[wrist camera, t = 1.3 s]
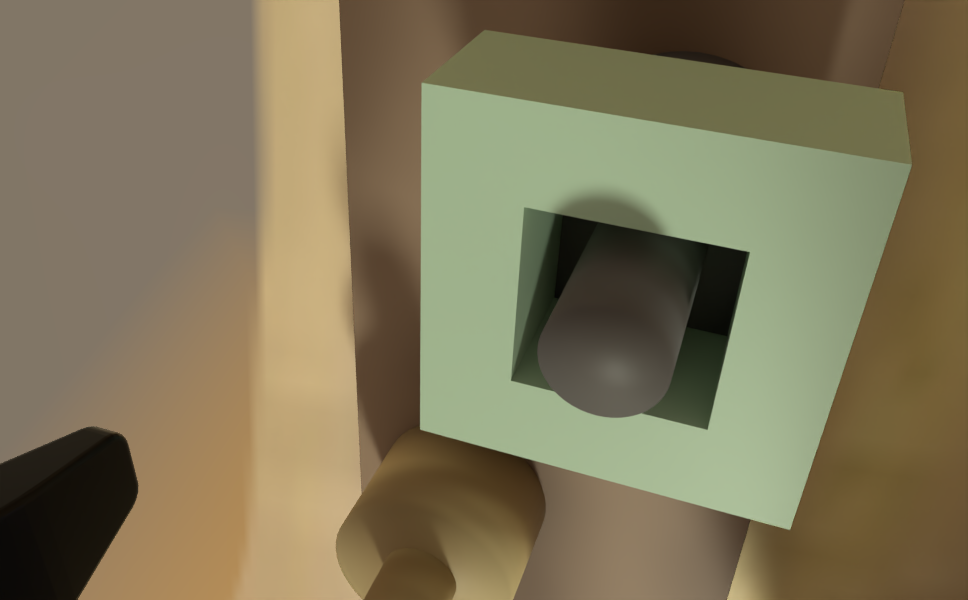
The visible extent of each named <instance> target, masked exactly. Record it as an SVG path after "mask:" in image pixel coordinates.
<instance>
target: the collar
mask: <svg viewBox="0 0 968 600" xmlns="http://www.w3.org/2000/svg"><path fill="white" fill-rule="evenodd" d="M911 167H912V159H911V151H910V143H909V135H908V127H907V119H906V111H905V102H904V94H903V92H899V91H892V90H885V89H879V88H872V87H865V86H858V85H852V84H845V83H838V82H832V81H825V80H818V79H811V78H805V77H798V76H791V75H785V74H778V73H771V72H764V71H758V70H751V69H744V68H738V67H731V66H724V65H717V64H711V63H704V62H697V61H691V60H684V59H677V58H670V57H664V56H657V55H650V54H644V53H637V52H630V51H623V50H617V49H610V48H603V47H597V46H590V45H583V44H576V43H570V42H563V41H556V40H550V39H543V38H536V37H529V36H523V35H516V34H509V33H503V32H496V31H489V30H484V31H483V32H481V33H480V34H479V35H478V36H477V37H475V38H474V39H473V40H472V41H471V42H469V43H468V44H467V45H466V46H465V47H464V48H462V49H461V50H460V51H459V52H458V53H456V54H455V55H454V56H453V57H452V58H450V59H449V60H448V61H447V62H446V63H444V64H443V65H442V66H441V67H440V68H439V69H437V70H436V71H435V72H434V73H433V74H431V75H430V76H429V77H428V78H427V79H425V80H424V81H423V82H422V103H421V330H420V430H423V431H427V432H431V433H434V434H438V435H442V436H445V437H449V438H453V439H456V440H460V441H464V442H468V443H471V444H475V445H479V446H482V447H486V448H490V449H493V450H497V451H501V452H504V453H508V454H512V455H515V456H519V457H523V458H526V459H530V460H534V461H537V462H541V463H545V464H548V465H552V466H556V467H559V468H563V469H567V470H571V471H574V472H578V473H582V474H585V475H589V476H593V477H596V478H600V479H604V480H607V481H611V482H615V483H618V484H622V485H626V486H629V487H633V488H637V489H640V490H644V491H648V492H651V493H655V494H659V495H663V496H666V497H670V498H674V499H677V500H681V501H685V502H688V503H692V504H696V505H699V506H703V507H707V508H710V509H714V510H718V511H721V512H725V513H729V514H732V515H736V516H740V517H743V518H747V519H751V520H754V521H758V522H762V523H766V524H769V525H773V526H777V527H780V528H784V529H788V530H790V529H791V526H792V523H793V520H794V517H795V514H796V511H797V508H798V505H799V502H800V499H801V496H802V493H803V490H804V487H805V484H806V481H807V478H808V475H809V472H810V469H811V466H812V463H813V460H814V457H815V454H816V451H817V448H818V445H819V442H820V439H821V436H822V433H823V430H824V427H825V424H826V421H827V418H828V415H829V412H830V409H831V406H832V403H833V400H834V397H835V394H836V391H837V388H838V385H839V382H840V379H841V376H842V373H843V370H844V367H845V364H846V361H847V358H848V355H849V352H850V349H851V346H852V343H853V341H854V338H855V335H856V332H857V329H858V326H859V323H860V320H861V317H862V314H863V311H864V308H865V305H866V302H867V299H868V296H869V293H870V290H871V287H872V284H873V281H874V278H875V275H876V272H877V269H878V266H879V263H880V260H881V257H882V254H883V251H884V248H885V245H886V242H887V239H888V236H889V233H890V230H891V227H892V224H893V221H894V218H895V215H896V212H897V209H898V206H899V203H900V200H901V197H902V194H903V191H904V188H905V185H906V182H907V179H908V176H909V173H910V170H911ZM563 215H566V216H571V217H576V218H581V219H586V220H591V221H596V222H601V223H606V224H611V225H616V226H621V227H626V228H632V229H637V230H642V231H647V232H652V233H657V234H662V235H667V236H672V237H677V238H682V239H687V240H692V241H697V242H702V243H707V244H712V245H717V246H722V247H727V248H732V249H737V250H742V251H747V255H746V259H745V263H744V267H743V272H742V276H741V280H740V284H739V288H738V293H737V297H736V301H735V305H734V309H733V314H732V318H731V322H730V326H729V331H728V335H727V336H724V335H720V334H715V333H711V332H706V331H702V330H697V329H693V328H688V327H686V329H685V333H684V336H683V340H682V344H681V347H680V351H679V354H678V358H677V361H676V365H675V369H674V372H673V376H672V379H671V383H670V386H669V388H668V390H667V392H666V394H665V395H664V397H663V398H662V399H661V400H660V401H659V402H658V403H657V404H656V405H655V406H654V407H652V408H651V409H649V410H647V411H645V412H643V413H640V414H638V415H634V416H630V417H623V418H609V417H602V416H597V415H593V414H590V413H587V412H584V411H582V410H580V409H578V408H576V407H574V406H572V405H571V404H569V403H568V402H566V401H565V400H563V399H562V398H561V397H560V396H559V395H558V394H557V393H556V392H555V391H554V390H553V389H552V388H551V387H550V385H549V384H548V383H547V381H546V379H545V378H544V376H543V374H542V372H541V369H540V366H539V362H538V356H537V347H538V341H539V338H540V335H541V333H542V331H543V329H544V327H545V325H546V323H547V321H548V319H549V317H550V315H551V313H552V311H553V309H554V308H555V306H556V304H557V302H558V300H559V299H558V298H554V295H555V285H556V276H557V266H558V256H559V247H560V237H561V227H562V217H563Z"/></svg>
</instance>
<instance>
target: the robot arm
mask: <svg viewBox="0 0 968 600" xmlns="http://www.w3.org/2000/svg"><path fill="white" fill-rule="evenodd" d="M137 494H138V481H137V477H136V473H135V469H134V465H133V461H132V457H131V453H130V449H129V446H128V443H127V440H126V439H125V437H124V436H123V435H122V434H120V433H117V432H114V431H110V430H107V429H103V428H99V427H86V428H83V429H80V430H78V431H76V432H73V433H71V434H69V435H66V436H64V437H62V438H59V439H57V440H55V441H52V442H50V443H48V444H45V445H43V446H41V447H38V448H36V449H34V450H31V451H29V452H27V453H24V454H22V455H20V456H17V457H15V458H13V459H10V460H8V461H6V462H4V463H1V464H0V600H78V598H79V596H80V594H81V593H82V591H83V590H84V588H85V586H86V585H87V582H88V581H89V579H90V578H91V576H92V575H93V573H94V571H95V569H96V568H97V566H98V564H99V563H100V561H101V559H102V558H103V556H104V554H105V553H106V551H107V549H108V548H109V546H110V544H111V542H112V541H113V539H114V538H115V536H116V534H117V533H118V531H119V529H120V528H121V526H122V524H123V523H124V521H125V519H126V517H127V516H128V514H129V513H130V511H131V509H132V508H133V505H134V503H135V501H136V498H137Z"/></svg>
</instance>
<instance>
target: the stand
mask: <svg viewBox="0 0 968 600" xmlns="http://www.w3.org/2000/svg"><path fill="white" fill-rule="evenodd" d="M904 1H905V0H339V8H340V30H341V52H342V74H343V96H344V118H345V140H346V161H347V183H348V205H349V227H350V249H351V271H352V292H353V314H354V336H355V358H356V380H357V402H358V424H359V445H360V467H361V489H362V495H361V496H360V498H359V499H358V501H357V502H356V504H355V506H354V507H353V509H352V510H351V512H350V513H349V515H348V516H347V518H346V520H345V521H344V523H343V524H342V526H341V528H340V530H339V532H338V535H337V539H336V553H337V559H338V562H339V565H340V568H341V570H342V572H343V574H344V576H345V578H346V579H347V581H348V583H349V584H350V585H351V587H352V588H353V589H354V591H355V592H356V593H357V594H358V595H359V596H360V597H361V598H362V599H363V600H727V597H728V594H729V591H730V587H731V584H732V581H733V577H734V574H735V570H736V567H737V564H738V560H739V557H740V554H741V550H742V547H743V543H744V540H745V537H746V533H747V530H748V527H749V523H750V520H751V519H747V518H743V517H740V516H736V515H732V514H729V513H725V512H721V511H718V510H714V509H710V508H707V507H703V506H699V505H696V504H692V503H688V502H685V501H681V500H677V499H674V498H670V497H666V496H663V495H659V494H655V493H651V492H648V491H644V490H640V489H637V488H633V487H629V486H626V485H622V484H618V483H615V482H611V481H607V480H604V479H600V478H596V477H593V476H589V475H585V474H582V473H578V472H574V471H571V470H567V469H563V468H559V467H556V466H552V465H548V464H545V463H541V462H537V461H534V460H530V459H526V458H523V457H519V456H515V455H512V454H508V453H504V452H501V451H497V450H493V449H490V448H486V447H482V446H479V445H475V444H471V443H468V442H464V441H460V440H456V439H453V438H449V437H445V436H442V435H438V434H434V433H431V432H427V431H423V430H420V330H421V103H422V82H423V81H424V80H425V79H427V78H428V77H429V76H430V75H431V74H433V73H434V72H435V71H436V70H437V69H439V68H440V67H441V66H442V65H443V64H444V63H446V62H447V61H448V60H449V59H450V58H452V57H453V56H454V55H455V54H456V53H458V52H459V51H460V50H461V49H462V48H464V47H465V46H466V45H467V44H468V43H469V42H471V41H472V40H473V39H474V38H475V37H477V36H478V35H479V34H480V33H481V32H483V31H484V30H489V31H496V32H503V33H509V34H516V35H523V36H529V37H536V38H543V39H550V40H556V41H563V42H570V43H576V44H583V45H590V46H597V47H603V48H610V49H617V50H623V51H630V52H637V53H644V54H650V55H657V56H664V57H670V58H677V59H684V60H691V61H697V62H704V63H711V64H717V65H724V66H731V67H738V68H744V69H751V70H758V71H764V72H771V73H778V74H785V75H791V76H798V77H805V78H811V79H818V80H825V81H832V82H838V83H845V84H852V85H858V86H865V87H872V88H879V85H880V82H881V79H882V75H883V72H884V68H885V65H886V62H887V58H888V55H889V52H890V48H891V45H892V41H893V38H894V35H895V31H896V28H897V25H898V21H899V18H900V14H901V11H902V8H903V4H904ZM746 255H747V251H742V250H737V249H732V248H727V247H722V246H717V245H712V244H707V243H702V242H697V241H692V240H687V239H682V238H677V237H672V236H667V235H662V234H657V233H652V232H647V231H642V230H637V229H632V228H626V227H621V226H616V225H611V224H606V223H601V222H596V221H591V220H586V219H581V218H576V217H571V216H566V215H563V217H562V227H561V237H560V247H559V256H558V266H557V276H556V285H555V295H554V298H558V299H559V300H558V302H557V304H556V306H555V308H554V309H553V311H552V313H551V315H550V317H549V319H548V321H547V323H546V325H545V327H544V329H543V331H542V333H541V335H540V338H539V341H538V347H537V356H538V362H539V366H540V369H541V372H542V374H543V376H544V378H545V379H546V381H547V383H548V384H549V385H550V387H551V388H552V389H553V390H554V391H555V392H556V393H557V394H558V395H559V396H560V397H561V398H562V399H563V400H565V401H566V402H568V403H569V404H571V405H572V406H574V407H576V408H578V409H580V410H582V411H584V412H587V413H590V414H593V415H597V416H602V417H609V418H623V417H630V416H634V415H638V414H640V413H643V412H645V411H647V410H649V409H651V408H652V407H654V406H655V405H656V404H657V403H658V402H659V401H660V400H661V399H662V398H663V397H664V395H665V394H666V392H667V390H668V388H669V386H670V383H671V379H672V376H673V372H674V369H675V365H676V361H677V358H678V354H679V351H680V347H681V344H682V340H683V336H684V333H685V329H686V327H688V328H693V329H697V330H702V331H706V332H711V333H715V334H720V335H724V336H727V335H728V331H729V326H730V322H731V318H732V314H733V309H734V305H735V301H736V297H737V293H738V288H739V284H740V280H741V276H742V272H743V267H744V263H745V259H746Z"/></svg>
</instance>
